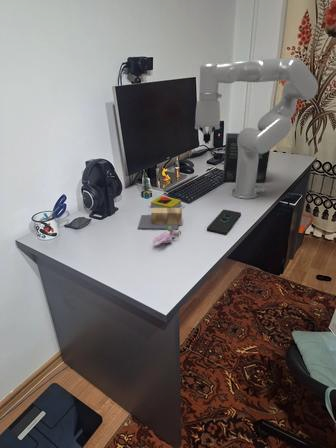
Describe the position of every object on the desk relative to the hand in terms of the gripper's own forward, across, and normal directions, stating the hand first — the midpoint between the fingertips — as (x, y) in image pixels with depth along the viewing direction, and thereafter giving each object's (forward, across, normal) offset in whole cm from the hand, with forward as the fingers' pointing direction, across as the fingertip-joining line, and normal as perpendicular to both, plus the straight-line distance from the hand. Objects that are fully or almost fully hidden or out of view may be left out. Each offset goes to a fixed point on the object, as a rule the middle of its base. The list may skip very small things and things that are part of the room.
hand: (206, 142), depth 134 cm
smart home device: (+28, -7, +23) cm, 37 cm away
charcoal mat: (+27, +20, +24) cm, 41 cm away
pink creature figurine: (+28, +15, +39) cm, 50 cm away
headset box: (+27, -23, -31) cm, 47 cm away
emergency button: (+28, +18, +8) cm, 34 cm away
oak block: (+24, +10, +24) cm, 35 cm away
